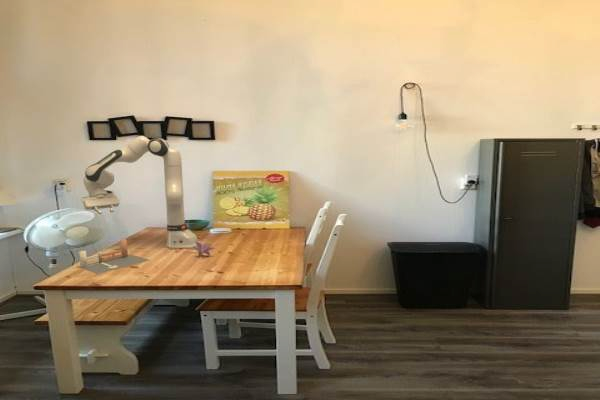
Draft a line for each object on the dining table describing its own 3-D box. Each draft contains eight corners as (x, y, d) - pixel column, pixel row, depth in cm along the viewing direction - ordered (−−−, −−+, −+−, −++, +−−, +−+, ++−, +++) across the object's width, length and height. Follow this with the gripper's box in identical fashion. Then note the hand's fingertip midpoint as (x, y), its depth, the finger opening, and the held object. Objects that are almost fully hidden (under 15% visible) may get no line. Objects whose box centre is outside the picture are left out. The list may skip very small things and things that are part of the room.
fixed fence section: (103, 262, 213) (102, 248, 212) (82, 267, 204) (80, 252, 203) (101, 261, 215) (99, 247, 214) (79, 266, 206) (78, 251, 205)
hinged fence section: (128, 255, 225) (127, 239, 224) (104, 261, 214) (102, 244, 212) (126, 255, 227) (124, 238, 226) (101, 260, 216) (100, 243, 214)
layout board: (150, 260, 217) (150, 259, 217) (97, 274, 194) (97, 273, 194) (130, 255, 230) (130, 254, 230) (78, 267, 207) (78, 266, 207)
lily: (217, 258, 223) (217, 242, 227) (202, 255, 214) (202, 239, 217) (202, 262, 229) (202, 247, 232) (187, 259, 219) (188, 243, 223)
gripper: (81, 194, 229) (89, 211, 224) (115, 191, 244) (123, 207, 239) (79, 200, 232) (87, 218, 227) (112, 197, 248) (121, 213, 243)
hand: (106, 212), depth 233 cm, fingers open, 6 cm apart
